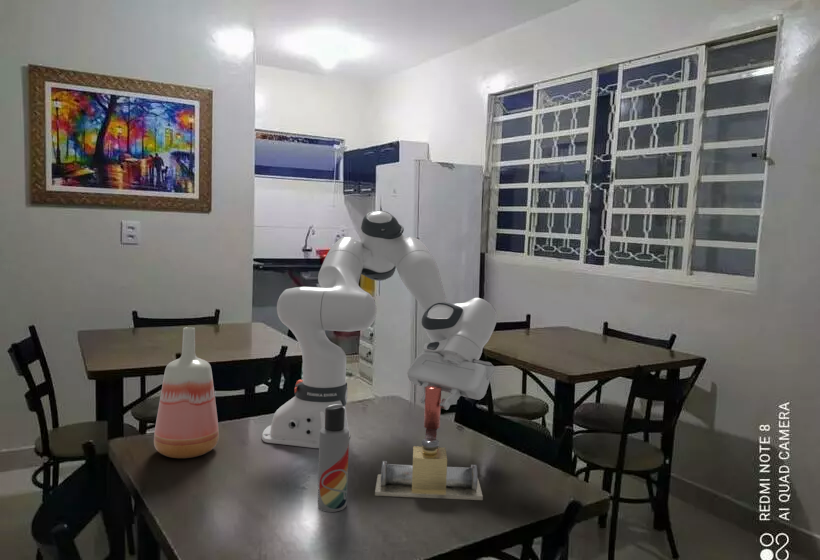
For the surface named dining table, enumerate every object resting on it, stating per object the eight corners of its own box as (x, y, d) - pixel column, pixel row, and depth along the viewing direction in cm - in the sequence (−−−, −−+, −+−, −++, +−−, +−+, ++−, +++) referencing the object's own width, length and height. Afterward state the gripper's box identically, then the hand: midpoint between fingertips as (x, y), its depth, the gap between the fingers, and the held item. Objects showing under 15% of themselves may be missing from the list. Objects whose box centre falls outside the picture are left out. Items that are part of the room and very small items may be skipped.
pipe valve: (374, 495, 123) (376, 453, 123) (377, 477, 132) (379, 438, 132) (482, 500, 123) (484, 458, 123) (478, 482, 132) (479, 442, 131)
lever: (438, 450, 125) (440, 402, 124) (421, 449, 125) (423, 401, 125) (439, 429, 139) (441, 386, 138) (424, 428, 139) (425, 385, 138)
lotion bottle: (341, 514, 115) (344, 411, 113) (313, 510, 116) (316, 408, 114) (350, 501, 120) (353, 403, 119) (323, 498, 121) (326, 400, 120)
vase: (214, 438, 153) (216, 322, 150) (222, 458, 140) (225, 332, 137) (152, 445, 146) (153, 324, 144) (155, 467, 133) (156, 334, 131)
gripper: (501, 372, 138) (477, 423, 132) (429, 357, 151) (403, 403, 144) (493, 355, 135) (467, 407, 128) (420, 341, 147) (392, 388, 140)
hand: (432, 405), depth 136 cm, fingers open, 4 cm apart
